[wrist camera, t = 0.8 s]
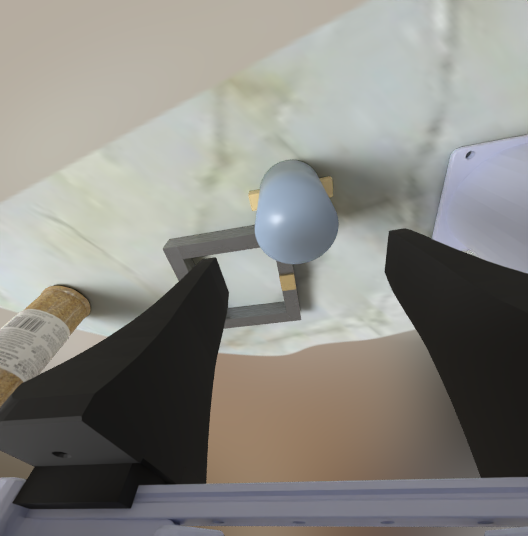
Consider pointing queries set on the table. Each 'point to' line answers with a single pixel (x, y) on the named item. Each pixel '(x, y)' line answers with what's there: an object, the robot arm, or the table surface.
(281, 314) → the collar
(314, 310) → the table surface
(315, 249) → the blue-grey rounded tapered piece
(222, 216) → the table surface
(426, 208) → the table surface
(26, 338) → the sprinkles bottle
